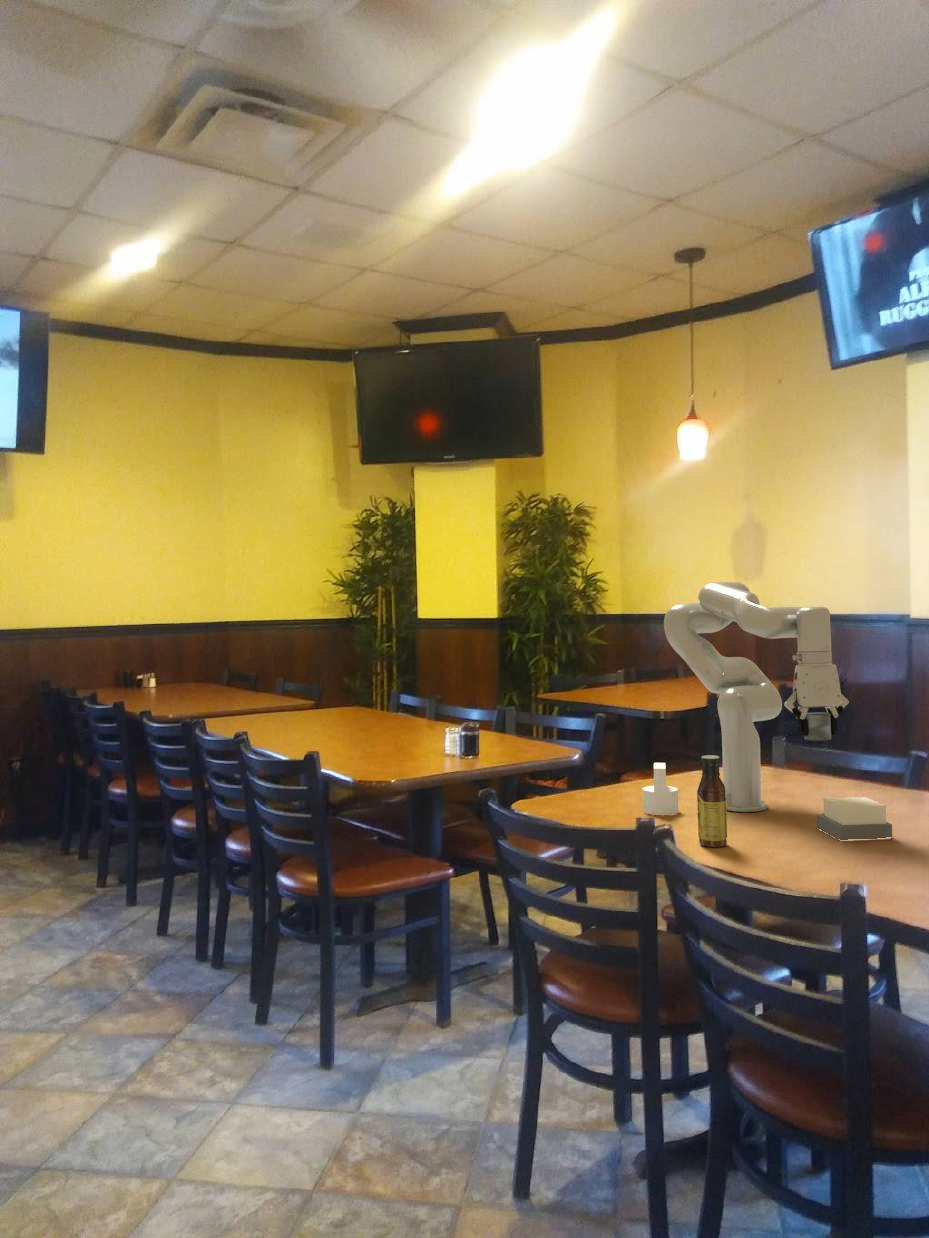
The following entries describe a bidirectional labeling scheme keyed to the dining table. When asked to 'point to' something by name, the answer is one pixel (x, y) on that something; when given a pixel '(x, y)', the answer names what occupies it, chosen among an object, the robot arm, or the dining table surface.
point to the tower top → (854, 811)
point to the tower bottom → (853, 829)
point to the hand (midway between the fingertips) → (817, 734)
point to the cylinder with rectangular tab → (660, 794)
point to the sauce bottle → (711, 804)
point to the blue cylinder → (818, 726)
